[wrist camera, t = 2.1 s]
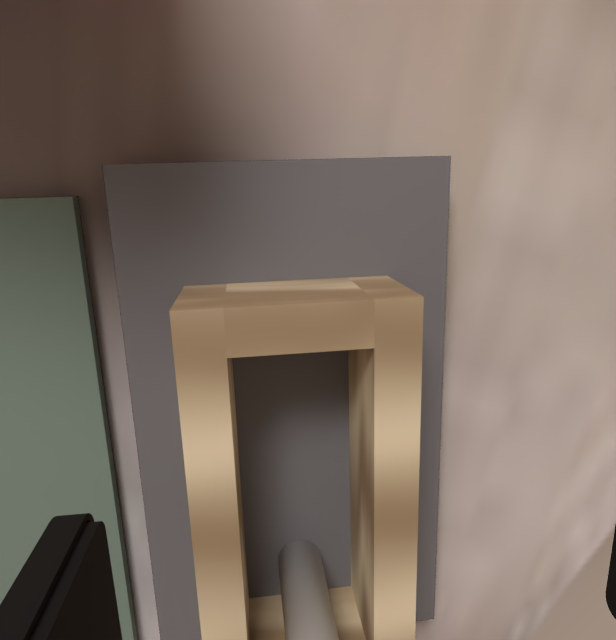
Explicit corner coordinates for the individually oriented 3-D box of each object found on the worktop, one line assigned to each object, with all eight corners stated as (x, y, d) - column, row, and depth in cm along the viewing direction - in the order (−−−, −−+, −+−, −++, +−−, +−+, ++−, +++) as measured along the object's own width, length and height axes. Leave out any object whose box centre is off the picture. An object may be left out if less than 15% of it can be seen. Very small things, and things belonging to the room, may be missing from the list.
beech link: (384, 610, 23) (413, 695, 19) (215, 631, 22) (210, 725, 18) (387, 275, 19) (423, 296, 15) (184, 285, 18) (169, 311, 14)
